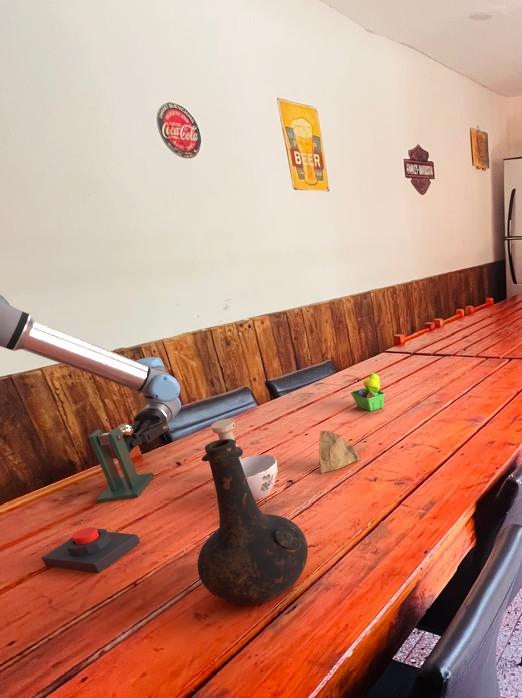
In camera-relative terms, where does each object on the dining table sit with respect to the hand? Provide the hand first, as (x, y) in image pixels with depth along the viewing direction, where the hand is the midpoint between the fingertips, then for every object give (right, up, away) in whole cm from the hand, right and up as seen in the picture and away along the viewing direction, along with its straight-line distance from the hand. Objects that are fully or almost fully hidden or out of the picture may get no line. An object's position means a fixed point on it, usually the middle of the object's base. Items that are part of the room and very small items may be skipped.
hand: (121, 451), depth 129 cm
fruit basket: (+53, +17, +48) cm, 74 cm away
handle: (+28, -7, +3) cm, 29 cm away
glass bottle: (+52, -25, -37) cm, 68 cm away
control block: (+12, -22, -25) cm, 36 cm away
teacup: (+37, -11, -7) cm, 39 cm away
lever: (0, +2, -1) cm, 3 cm away
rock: (+54, -4, +7) cm, 54 cm away
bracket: (+1, -10, 0) cm, 10 cm away
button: (+12, -18, -27) cm, 35 cm away
